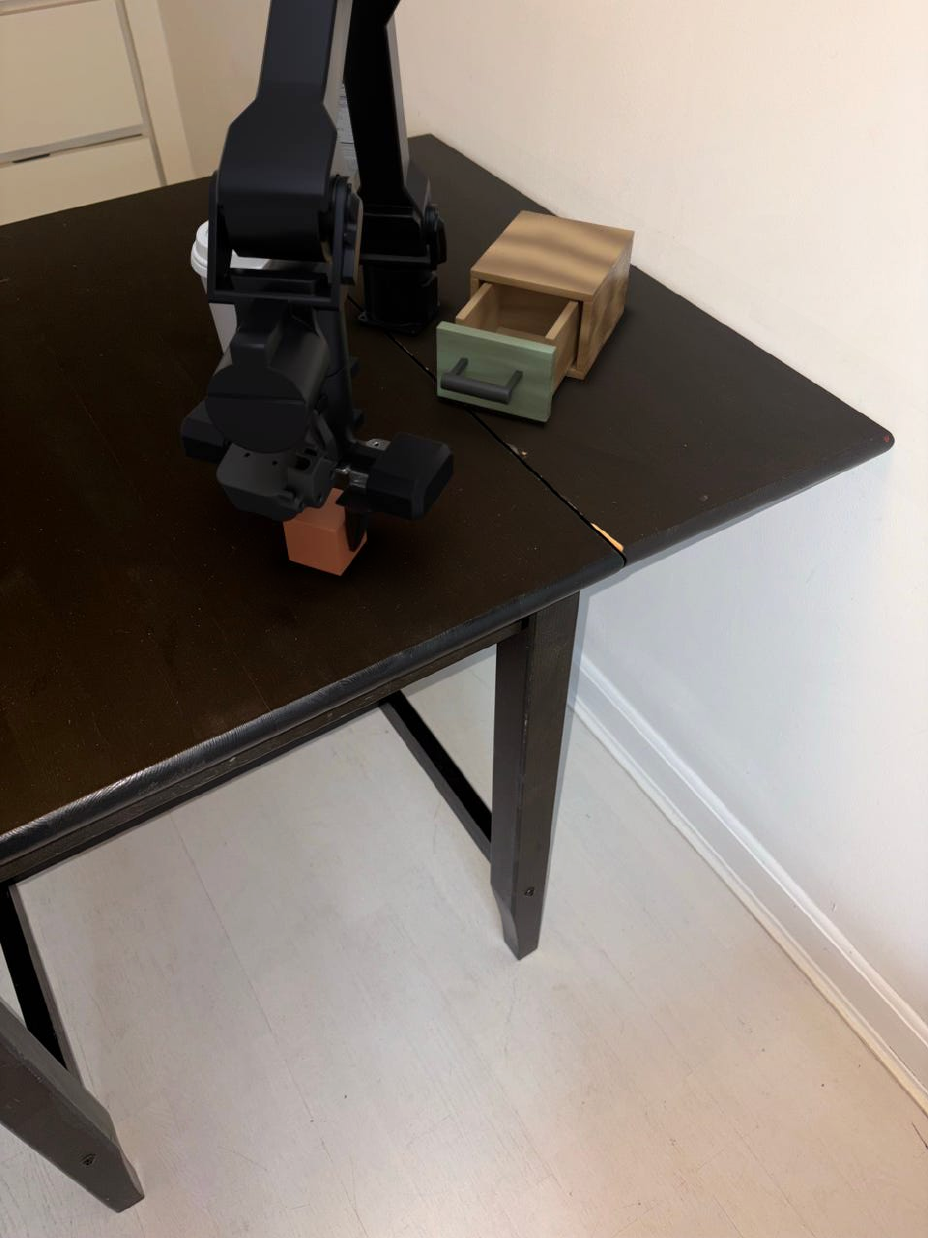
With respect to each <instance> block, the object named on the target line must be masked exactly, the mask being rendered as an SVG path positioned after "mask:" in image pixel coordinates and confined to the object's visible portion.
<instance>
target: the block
mask: <svg viewBox="0 0 928 1238" xmlns="http://www.w3.org/2000/svg"><path fill="white" fill-rule="evenodd" d="M343 491H344V490H342V489H339V488H335V487H333V488H332V490H331V492H330V494H329V496H328V498H327V500H326V502H325V504H324V506H323V507H321V508H319V509H316V508H312V507H306V508H305V509H304V510H303V512H302V513H300V514H299V513H298V514H297V516H296V517H295V518H293V519H292V520H290V521H286V522H282V523H283V530H284V535H285V536H284V537H285V542H286V548H287V553H288V559H289V561H291V562H295V563H297V564H301V565H304V566H307V567H311V568H314V569H316V570H320V571H324V572H327V573H329V574H333V575H336V576H339V577H341V576H342V575H343V573H344V572H345V571H346V569H347V568H348V567H349V565H350V564H351V562H352V561H353V559H354V558H355V557H356V555H357V554H358V553H359V552H360V550H361V549H362V548H363V545H365V543H366V542H367V540H368V538H367V531H366V532H365V534H364V537H363V539H362V542H361V544H360V546H359V547H358V549H357V550H356V551H355V552H352V551H350V550H349V546H348V542H347V536H346V523H345V509H344V507H342V506H339V505H336V504H335V501H336V500H337V499H338V498H339V496H340V495H341V494H342V493H343Z"/></svg>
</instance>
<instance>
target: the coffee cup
mask: <svg viewBox="0 0 928 1238" xmlns="http://www.w3.org/2000/svg"><path fill="white" fill-rule="evenodd" d="M195 236H196V237H195V241H194V242H193V244H192V248H191V252H190V265H191V267H192V269H193V270H194V271H195V272H196V273H197V274H198V275H200V279H201V282H202V285H203V288H204V291H205V293H206V291H207V251H208V220H207V221H205V222H203V224H201V225H200V226H199V228H198V229H197V231H196V235H195ZM268 260H269V259H257V258H242V257H238V256H237V254H236V253H235V252H234V251H233V252H232V259H231V266H230V268H231V267H237V268H253V269H261V268H262V267H263V266H264V265H265V264H266V263H267V261H268ZM208 306H209V309H210V312H211V315H212V318H213V321H214V325H215V329H216V332H217V335H218V339H219V342H220V345H221V350H222V352H223V354H224V353H225V351H226V349H227V347H228V345H229V343H230V341H231V339H232V337H233V335H234V333H235V331H236V327H237V321H236V313H235V308H234V305H229V304H214V303H208Z"/></svg>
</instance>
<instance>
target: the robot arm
mask: <svg viewBox="0 0 928 1238" xmlns="http://www.w3.org/2000/svg"><path fill="white" fill-rule="evenodd" d="M401 1H402V0H270V1H269V9H268V15H267V21H266V29H265V36H264V43H263V49H262V56H261V57H262V58H261V64H260V70H259V71H260V72H259V78H258V84H257V88H256V93H255V97H254V100H252V101H251V102H250V103H249V104H248V105H247V106H246V107H245V108H244V110H243V111H241V112H240V114H238V116H237V117H235V118H234V120H232V121H231V123H229V125H228V127H227V130H226V135H225V139H224V143H223V147H222V152H221V156H220V160H219V164H218V168H216V169H215V170H213V172H212V175H211V177H210V182H209V187H208V188H209V189H208V211H207V212H208V213H207V215H208V216H207V217H208V218H207V221H208V251H207V291H206V292H205V295H206V296H205V297H206V301H207V303H208V304H209V303H214V304H229V305H234V308H235V313H236V321H237V327H236V331H235V333H234V335H233V337H232V339H231V341H230V343H229V345H228V347H227V349H226V351H225V353H223V355H222V357H221V359H220V361H219V363H218V365H217V367H216V369H215V370H214V373H213V374H212V376H211V378H210V380H209V382H208V383H207V386H206V392H205V397H204V399H203V400H202V401H201V402H200V403H199V404H198V405H197V406H196V407H195V408H193V409H192V410H191V411H190V412H189V413H188V414H187V415H186V416H185V417H184V418H183V419H182V420H181V425H180V427H179V434H180V435H179V436H180V439H181V442H182V443H181V444H182V447H183V451H184V453H185V456H186V457H188V458H191V459H196V460H198V461H201V462H204V463H208V464H211V465H216V466H218V468H217V470H216V479H217V481H218V482H219V484H220V485H221V487H222V488H223V490H224V492H225V493H226V495H227V496H228V498H229V499H230V501H231V502H232V504H233V506H234V507H235V508H236V509H237V510H241V511H243V512H251V513H254V514H258V515H259V516H260V515H261V516H264V517H268V518H270V519H271V520H273V521H277V522H281V523H283V522H286V521H290V520H292V519H293V518H295V517H296V516H297V514H298V513H299V514H300V513H302V512H303V510H304V509H305V508H306V507H312V508H316V509H319V508H321V507H323V506H324V504H325V502H326V500H327V498H328V496H329V494H330V492H331V490H332V488H334V486H335V484H336V482H337V477H338V474H342V475H346V474H348V478H349V483H348V485H347V487H345V488H344V490H343V493H342V494H341V495H340V496H339V498H338V499H337V500H336V501H335V504H336V505H339V506H342V507H344V509H345V523H346V536H347V542H348V546H349V550H350V551H352V552H355V551H356V550H357V549H358V547H359V546H360V544H361V542H362V539H363V537H364V534H365V532H366V533H367V529H368V527H369V525H370V523H371V520H372V517H373V515H374V514H376V513H378V512H379V513H383V514H386V515H390V516H394V517H397V518H401V519H403V520H408V521H409V522H410V521H411V522H413V521H417V520H421V519H424V518H425V517H426V516H427V514H428V512H429V511H430V509H432V507H433V505H434V503H436V501H437V500H438V498H439V497H440V495H441V493H442V492H443V490H445V488H446V486H447V484H449V482H450V481H451V479H452V478H453V476H454V461H455V460H454V458H455V457H454V454H453V452H452V451H453V450H452V449H451V447H450V446H449V445H448V444H447V443H445V442H443V441H442V442H441V441H438V440H435V439H430V438H427V437H423V436H419V435H415V434H411V433H408V432H404V431H400V430H398V432H397V433H396V435H395V436H394V437H393V438H392V439H391V441H389V440H385V439H382V438H373V439H370V440H368V441H365V440H361V439H358V438H357V434H356V433H357V432H358V431H359V430H360V428H361V427H362V426H363V425H364V424H365V417H364V410H363V409H359V408H355V407H354V400H353V387H352V381H353V380H354V378H356V377H357V375H358V374H359V373H361V367H360V357H357V356H353V355H349V354H350V353H349V344H348V342H349V341H348V333H347V322H346V310H345V303H346V300H347V298H348V293H349V286H357V285H358V273H359V266H362V267H361V268H362V270H361V271H362V281H363V282H362V283H363V297H364V308H365V309H364V311H363V312H362V313H361V314H360V315H359V316H357V320H358V321H357V322H358V324H360V325H364V326H369V327H373V328H378V329H382V330H386V331H391V332H395V333H399V334H404V335H407V336H417V335H418V334H419V333H420V332H421V331H422V330H423V328H424V327H425V326H426V325H427V324H428V322H430V321H431V320H432V319H433V317H434V316H435V315H436V314H437V313H438V311H439V310H440V309H441V303H440V301H439V299H438V298H439V295H438V294H439V293H438V290H439V289H438V274H437V272H434V271H437V269H438V267H439V265H442V264H445V263H446V262H447V260H448V242H447V233H446V226H445V222H444V220H443V219H442V216H441V213H440V209H439V205H438V204H433V199H432V198H433V197H432V191H431V184H430V179H429V177H428V176H427V175H426V173H424V172H423V170H421V168H420V167H419V166H418V165H417V164H416V163H415V162H414V161H413V160H412V159H411V158H410V154H409V153H410V152H409V142H408V135H407V134H408V133H407V123H406V114H405V103H404V95H403V85H402V75H401V66H400V56H399V47H398V46H399V45H398V37H397V27H396V17H395V12H396V10H397V9H398V6H399V5H400V3H401ZM342 78H343V82H344V88H345V94H346V100H347V106H348V112H349V118H350V124H351V130H352V136H353V142H354V148H355V154H356V160H357V166H358V169H357V170H356V172H355V173H354V177H353V179H352V177H350V175H349V171H348V168H347V164H346V161H345V157H344V153H343V150H342V146H341V142H340V139H339V135H338V132H337V129H336V126H337V117H338V110H339V102H340V94H341V86H342ZM233 251H234V252H235V253H236V254H237V256H238V257H242V258H257V259H269V260H268V261H267V263H266V264H265V265H264V266H263V267H262V268H261V269H253V268H237V267H231V268H230V266H231V259H232V252H233Z"/></svg>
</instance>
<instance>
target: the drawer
mask: <svg viewBox="0 0 928 1238" xmlns="http://www.w3.org/2000/svg"><path fill="white" fill-rule="evenodd" d="M583 302H584V301H580V300H576V299H571V298H566V297H561V296H557V295H552V294H547V293H542V292H537V291H533V290H528V289H523V288H518V287H514V286H509V285H504V284H499V283H494V282H490V281H485V283H484V284H483V285H482V286H481V287H480V289H479V290H478V291H477V292H476V293H475V295H474V296H473V297H472V298H471V299H470V298H469V300H468V302H467V303H466V304H465V305H464V307H463V308H462V309H461V310H460V311H459V313H458V314H457V315H456V316H455V323H452V322H449V321H443V320H441V321H440V322H439V324H438V325H437V326H436V329H435V330H436V395H437V396H438V397H442V398H445V399H450V400H453V401H457V402H462V403H465V404H470V405H474V406H478V407H483V408H487V409H490V410H493V411H494V410H495V411H499V412H503V413H507V414H511V415H515V416H519V417H523V418H527V419H531V420H534V421H538V422H542V423H547V421H548V420H549V418H550V416H551V411H552V402H553V401H552V399H553V395H554V394H555V392H556V391H557V389H558V387H559V385H560V384H561V383H562V381H563V379H564V377H566V376H565V374H566V373H567V371H568V370H569V368H570V366H571V365H572V363H573V362H574V360H575V358H576V357H577V355H578V348H579V338H580V329H581V320H582V311H583Z"/></svg>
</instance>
